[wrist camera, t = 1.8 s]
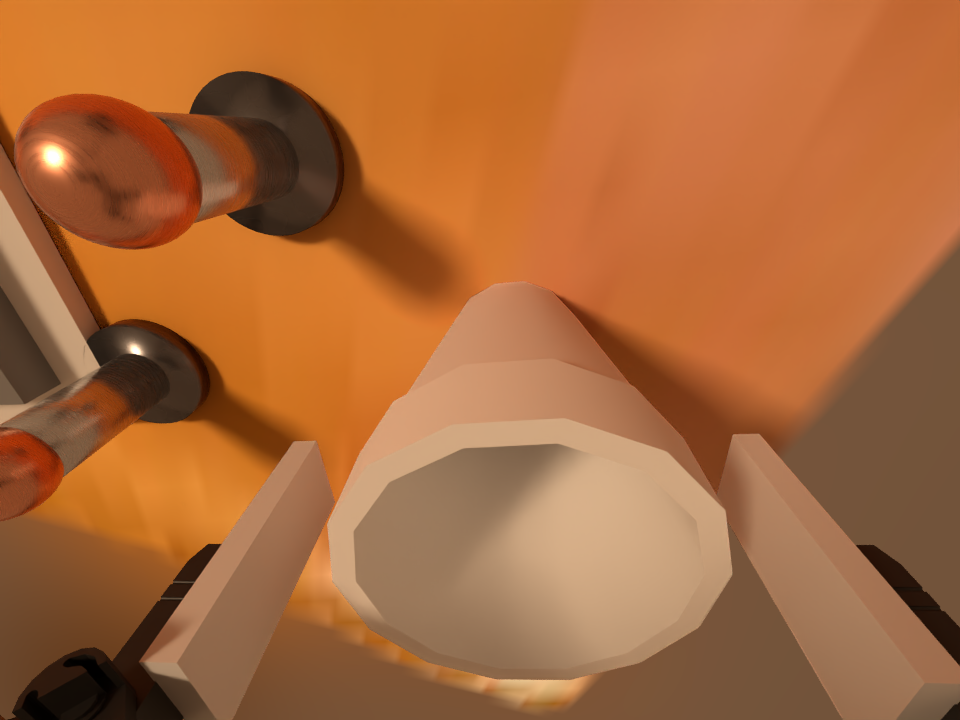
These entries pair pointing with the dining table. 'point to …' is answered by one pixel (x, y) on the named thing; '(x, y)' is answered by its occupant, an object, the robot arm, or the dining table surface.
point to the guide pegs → (155, 240)
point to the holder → (36, 307)
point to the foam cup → (527, 506)
